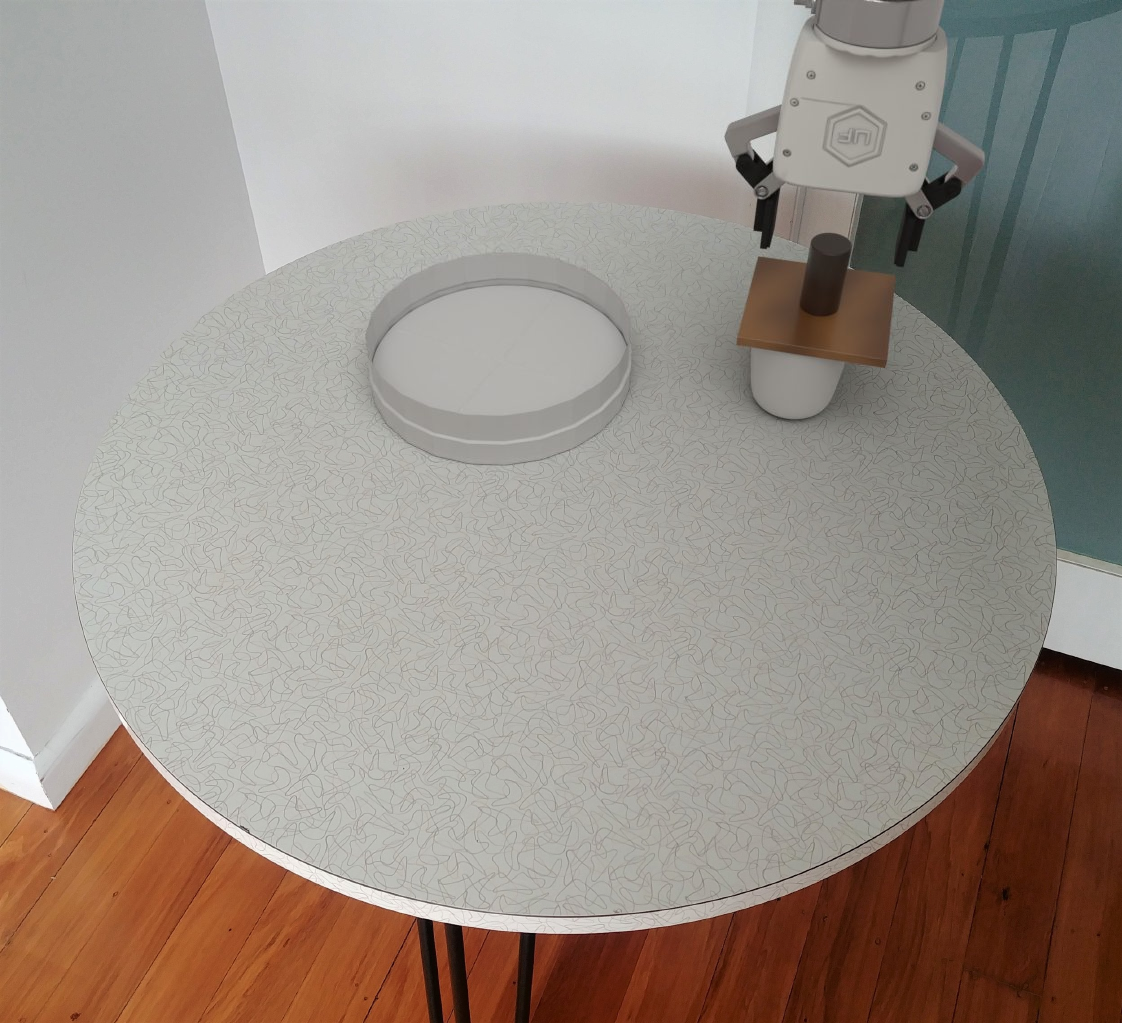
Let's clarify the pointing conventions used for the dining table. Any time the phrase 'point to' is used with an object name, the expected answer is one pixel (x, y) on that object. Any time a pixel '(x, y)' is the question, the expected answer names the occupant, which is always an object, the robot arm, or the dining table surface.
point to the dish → (499, 357)
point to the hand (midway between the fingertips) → (832, 247)
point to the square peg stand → (820, 306)
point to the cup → (793, 382)
